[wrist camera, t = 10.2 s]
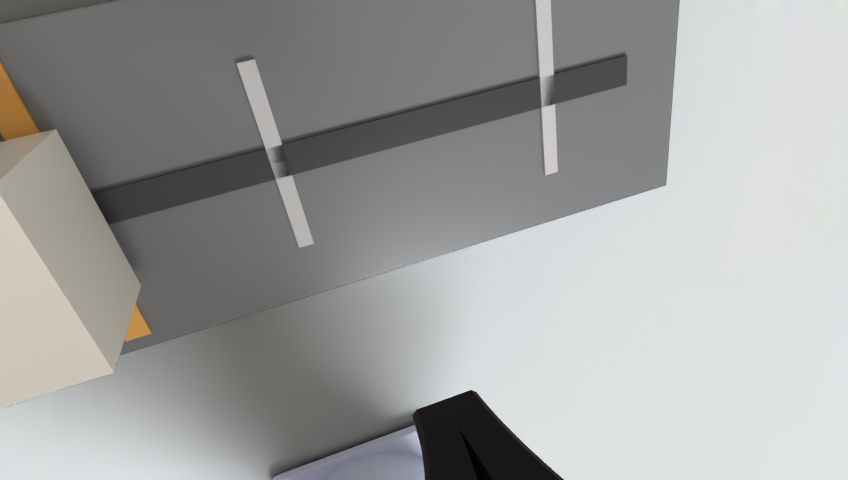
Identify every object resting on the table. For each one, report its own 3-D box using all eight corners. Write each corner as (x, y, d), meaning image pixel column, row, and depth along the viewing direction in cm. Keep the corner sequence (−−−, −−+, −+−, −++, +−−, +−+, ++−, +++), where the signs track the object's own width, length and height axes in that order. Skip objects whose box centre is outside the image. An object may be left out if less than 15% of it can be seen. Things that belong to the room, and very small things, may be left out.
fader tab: (141, 285, 16) (114, 372, 13) (35, 316, 16) (-22, 415, 12) (56, 129, 14) (-7, 185, 10) (-74, 159, 13) (-185, 229, 10)
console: (634, 168, 23) (667, 185, 21) (-89, 386, 18) (-126, 433, 16) (645, -107, 18) (690, -114, 16) (-359, 95, 13) (-456, 117, 11)
